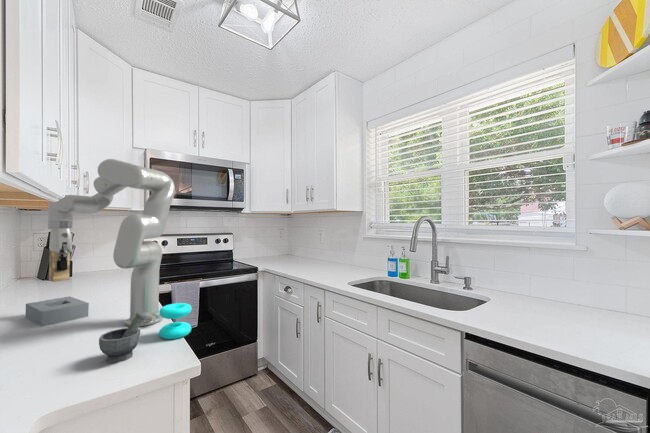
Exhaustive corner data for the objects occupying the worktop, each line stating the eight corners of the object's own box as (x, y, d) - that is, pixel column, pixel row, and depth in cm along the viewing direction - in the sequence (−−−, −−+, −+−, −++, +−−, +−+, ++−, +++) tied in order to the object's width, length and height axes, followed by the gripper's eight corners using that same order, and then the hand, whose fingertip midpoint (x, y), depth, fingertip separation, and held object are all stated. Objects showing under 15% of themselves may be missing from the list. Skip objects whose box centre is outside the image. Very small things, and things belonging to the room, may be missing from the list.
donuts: (152, 307, 98) (179, 300, 107) (152, 337, 98) (178, 327, 107) (172, 312, 94) (197, 304, 103) (171, 342, 94) (197, 332, 103)
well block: (88, 316, 119) (88, 302, 120) (42, 326, 107) (42, 311, 108) (69, 308, 130) (69, 296, 130) (25, 317, 118) (25, 303, 118)
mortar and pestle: (101, 369, 77) (102, 324, 77) (95, 358, 83) (96, 316, 83) (149, 356, 85) (150, 314, 85) (141, 346, 91) (141, 308, 91)
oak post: (69, 279, 120) (69, 250, 120) (53, 281, 116) (54, 251, 116) (64, 278, 123) (65, 250, 123) (49, 280, 118) (49, 251, 119)
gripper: (80, 225, 118) (79, 270, 118) (64, 225, 127) (63, 266, 127) (55, 226, 112) (54, 273, 112) (41, 225, 121) (40, 269, 121)
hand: (59, 269), depth 119 cm, fingers closed on oak post, 5 cm apart
